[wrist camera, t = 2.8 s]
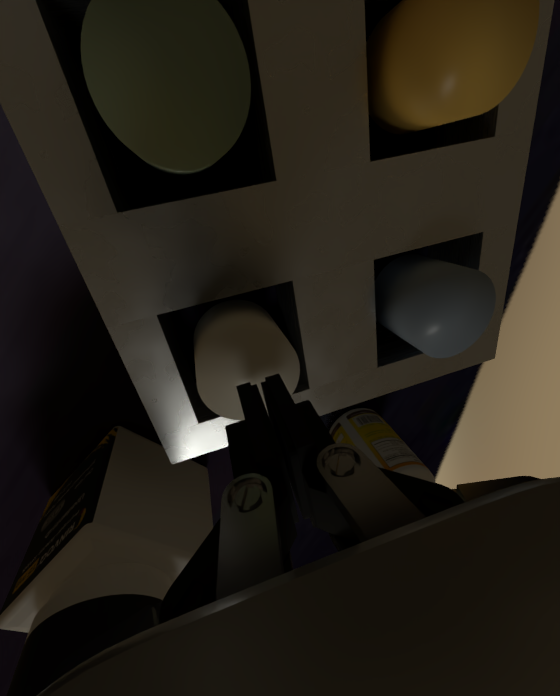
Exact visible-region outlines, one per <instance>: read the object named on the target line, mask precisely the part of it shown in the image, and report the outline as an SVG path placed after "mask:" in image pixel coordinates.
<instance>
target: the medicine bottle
mask: <svg viewBox="0 0 560 696" xmlns="http://www.w3.org/2000/svg"><path fill="white" fill-rule="evenodd" d="M212 529H213V521H212V510H211V500H210V489H209V478H208V470H207V468H206V467H204V466H202V465H200V464H198V463H196V462H194V461H192V460H190V459H187V460H184V461H181V462H178V463H175V464H171V462H170V460H169V458H168V456H167V453H166V451H165V449H164V447H163V446H161V445H159V444H157V443H155V442H153V441H151V440H149V439H147V438H145V437H142V436H140V435H138V434H136V433H134V432H132V431H130V430H128V429H126V428H124V427H122V426H116V427H114V428H113V429H112V430H111V431H110V432H109V433H108V435H107V436H106V437H105V438H104V439H103V440H102V441H101V442H100V443H99V445H98V446H97V447H96V448H95V449H94V450H93V451H92V452H91V453H90V455H89V456H88V457H87V458H86V459H85V460H84V461H83V462H82V463H81V465H80V466H79V467H78V468H77V469H76V470H75V471H74V472H73V473H72V475H71V476H70V477H69V478H68V479H67V480H66V481H65V482H64V483H63V485H62V486H61V487H60V488H59V489H58V490H57V491H56V492H55V493H54V495H53V496H52V497H51V498H50V499H49V501H48V503H47V506H46V508H45V510H44V513H43V515H42V517H41V520H40V522H39V524H38V527H37V529H36V531H35V534H34V536H33V538H32V540H31V543H30V545H29V547H28V550H27V552H26V554H25V557H24V559H23V561H22V564H21V566H20V568H19V571H18V573H17V575H16V577H15V580H14V582H13V584H12V587H11V589H10V591H9V594H8V596H7V598H6V601H5V603H4V605H3V608H2V610H1V612H0V629H5V630H13V631H20V632H28V636H27V639H26V642H25V645H24V647H23V650H22V653H21V656H20V659H19V662H18V665H17V667H16V670H15V673H14V676H13V679H12V682H11V685H10V688H9V690H8V693H7V696H37V695H38V694H39V693H40V692H42V690H43V689H44V687H45V685H46V683H47V681H48V679H49V677H50V676H51V674H52V673H53V672H54V671H55V669H56V668H57V667H58V666H59V664H60V663H61V662H62V661H64V660H65V659H66V658H67V657H68V656H70V655H71V654H72V653H74V652H75V651H77V650H78V649H80V648H82V647H83V646H85V645H86V644H88V643H89V642H91V641H92V640H94V639H96V638H97V637H99V636H100V635H102V634H103V633H105V632H106V631H108V630H110V629H111V628H113V627H114V626H116V625H117V624H119V623H121V622H122V621H124V620H125V619H127V618H128V617H130V616H131V615H133V614H135V613H136V612H138V611H139V610H141V609H142V608H144V607H145V606H147V605H149V604H150V603H151V604H152V606H155V605H157V604H158V603H160V602H161V601H163V599H164V597H165V595H166V593H167V591H168V590H169V588H170V587H171V585H172V584H173V582H174V581H175V580H176V578H177V577H178V576H179V574H180V573H181V571H182V570H183V569H184V567H185V566H186V565H187V563H188V562H189V560H190V559H191V558H192V556H193V555H194V554H195V552H196V551H197V549H198V548H199V547H200V545H201V544H202V543H203V541H204V540H205V538H206V537H207V536H208V534H209V533H210V532H211V530H212Z"/></svg>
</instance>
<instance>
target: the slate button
mask: <svg viewBox="0 0 560 696" xmlns="http://www.w3.org/2000/svg"><path fill="white" fill-rule="evenodd" d="M374 284H375V312H376V320H377V321H378V322H379V323H380V324H381V325H383V326H384V327H386V328H387V329H389V330H390V331H392V332H393V333H395V334H396V335H398V336H399V337H401V338H402V339H404V340H405V341H407V342H408V343H410V344H411V345H413V346H414V347H416V348H417V349H419V350H420V351H422V352H423V353H425V354H426V355H428V356H430V357H433V358H448V357H451V356H454V355H457V354H459V353H461V352H463V351H464V350H466V349H467V348H469V347H470V346H471V345H472V344H473V343H474V342H476V340H477V339H478V338H479V337H480V336H481V335H482V333H483V332H484V331H485V329H486V328H487V326H488V324H489V322H490V320H491V318H492V315H493V312H494V308H495V302H496V293H495V288H494V285H493V283H492V281H491V279H490V278H489V277H488V276H487V275H486V274H485V273H483V272H481V271H479V270H475V269H471V268H468V267H464V266H460V265H456V264H453V263H449V262H445V261H441V260H437V259H434V258H430V257H426V256H422V255H418V254H408V255H403V256H400V257H398V258H396V259H394V260H393V261H391V262H390V263H389V264H388V265H386V266H385V267H384V268H383V270H382V271H381V272H380V273H379V275H378V276H377V278H376V280H375V282H374Z"/></svg>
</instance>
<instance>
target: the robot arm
mask: <svg viewBox="0 0 560 696" xmlns="http://www.w3.org/2000/svg"><path fill="white" fill-rule="evenodd" d="M261 387H262V391H263V395H264V399H265V403H266V407H267V410H266V408H265V405H264V402H263V400H262V397H261V395H260V392H259V389H258V387H257V384H255V385H251V383H250V382H248V383H245V384H241V385H238V386H236V388H237V391H238V395H239V399H240V403H241V406H242V410H243V414H244V418H245V420H242V421H239V422H236V423H233V424H229V425H226V426H225V428H226V435H227V440H228V446H229V452H230V458H231V464H232V470H233V476H234V480H233V481H232V482H231V483H230V484H229V485H228V486H227V487H226V489H225V491H224V492H223V496H222V502H221V518H220V519H219V521H218V522H217V523H216V525H215V526H214V527H213V529H212V530H211V532H210V533H209V534H208V536H207V537H206V538H205V540H204V541H203V543H202V544H201V545H200V547H199V548H198V549H197V551H196V552H195V554H194V555H193V556H192V558H191V559H190V560H189V562H188V563H187V565H186V566H185V567H184V569H183V570H182V571H181V573H180V574H179V576H178V577H177V578H176V580H175V581H174V582H173V584H172V585H171V587H170V588H169V590H168V591H167V593H166V595H165V597H164V599H163V601H161V602H160V603H158V604H157V605H155V606H152V604H151V603H150V604H149V605H147V606H145V607H144V608H142V609H141V610H139V611H138V612H136V613H135V614H133V615H131V616H130V617H128V618H127V619H125V620H124V621H122V622H121V623H119V624H117V625H116V626H114V627H113V628H111V629H110V630H108V631H106V632H105V633H103V634H102V635H100V636H99V637H97V638H96V639H94V640H92V641H91V642H89V643H88V644H86V645H85V646H83V647H82V648H80V649H78V650H77V651H75V652H74V653H72V654H71V655H70V656H68V657H67V658H66V659H65V660H64V661H62V662H61V663H60V664H59V666H58V667H57V668H56V669H55V671H54V672H53V673H52V674H51V676H50V677H49V679H48V681H47V683H46V685H45V687H44V689H43V690H42V692H40V693H39V694H38V695H37V696H560V477H556V478H547V479H539V478H535V477H531V476H518V477H511V478H503V479H496V480H488V481H481V482H474V483H467V484H459V485H457V489H449V488H448V487H445V486H443V485H440V484H437V483H434V482H430V481H426V480H423V479H419V478H416V477H412V476H409V475H405V474H401V473H398V472H394V471H391V470H387V469H384V468H380V467H377V466H376V465H375V464H374V463H373V462H372V461H371V460H370V459H369V458H368V457H367V456H366V455H365V454H364V453H363V452H362V451H361V450H360V449H359V448H357V447H356V446H353V445H351V444H346V443H335V441H334V439H333V438H332V436H331V435H330V433H329V431H328V430H327V428H326V426H325V425H324V423H323V422H322V420H321V418H320V417H319V415H318V413H317V412H316V410H315V408H314V407H313V405H312V404H311V402H310V401H309V400H306V401H302V402H299V403H296V404H295V403H294V401H293V399H292V397H291V395H290V393H289V391H288V390H287V388H286V386H285V384H284V382H283V380H282V378H281V376H280V375H279V373H278V374H275V375H272V376H268V377H265V382H261ZM267 411H268V413H267ZM268 415H269V416H268ZM290 483H291V485H290ZM291 486H292V489H293V491H294V494H295V497H296V500H297V502H298V505H299V508H300V511H301V513H302V516H303V518H304V519H307V518H309V517H310V520H311V522H312V525H313V527H317V528H319V529H322V530H324V531H327V532H329V536H330V538H331V540H332V542H333V544H334V545H335V547H336V549H337V550H338V552H337V553H334V554H332V555H329V556H327V557H324V558H322V559H319V560H317V561H314V562H312V563H309V564H307V565H304V566H302V567H299V568H297V569H294V570H293V566H292V559H291V554H290V548H291V546H292V544H293V542H294V540H295V538H296V536H297V532H296V528H295V524H294V523H296V522H299V519H298V515H297V510H296V506H295V502H294V498H293V494H292V489H291Z"/></svg>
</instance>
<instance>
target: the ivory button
mask: <svg viewBox="0 0 560 696" xmlns="http://www.w3.org/2000/svg"><path fill="white" fill-rule="evenodd" d="M193 344H194V357H195V370H196V383H197V389H198V393H199V395H200V397H201V399H202V401H203V402H204V404H205V405H206V406H207V407H208V408H209V409H210V410H212V411H213V412H214V413H216V414H218V415H220V416H222V417H224V418H228V419H232V420H241V421H242V420H245V418H244V414H243V410H242V406H241V403H240V399H239V395H238V391H237V388H236V386H238V385H241V384H245V383H248V382H250V383H251V385H255V384H257V387H258V389H259V392H260V395H261V397H262V400H263V402H264V405H265V408H266V410H267V407H266V403H265V399H264V395H263V391H262V387H261V382H265V377H268V376H272V375H275V374H278V373H279V375H280V376H281V378H282V380H283V382H284V384H285V386H286V388H287V390H288V391H289V393H290V395H292V394H293V392H294V390H295V388H296V386H297V383H298V380H299V375H300V364H299V359H298V356H297V354H296V352H295V350H294V348H293V347H292V345H291V344H290V343H289V341H288V340H287V338H286V337H285V336H284V334H283V333H282V331H281V330H280V329H279V327H278V326H277V324H276V323H275V322H274V320H273V319H272V317H271V316H270V315H269V313H268V312H267V311H266V310H265V309H264V308H262V307H261V306H259V305H257V304H255V303H253V302H250V301H246V300H228V301H224V302H221V303H219V304H217V305H215V306H213V307H212V308H210V309H209V310H208V311H206V312H205V313H204V315H203V316H202V317H201V318H200V320H199V321H198V323H197V325H196V328H195V331H194V337H193ZM267 413H268V411H267Z"/></svg>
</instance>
